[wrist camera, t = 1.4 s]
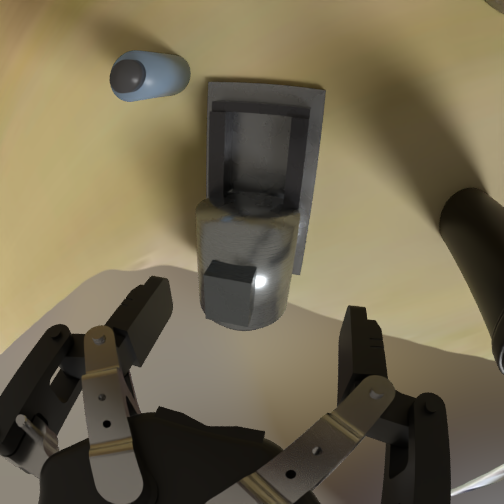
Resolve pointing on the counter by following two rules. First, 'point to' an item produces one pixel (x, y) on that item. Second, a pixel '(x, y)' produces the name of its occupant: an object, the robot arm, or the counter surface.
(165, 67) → the blue capped cylinder
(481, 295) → the water bottle
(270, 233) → the electric motor
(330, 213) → the counter surface
